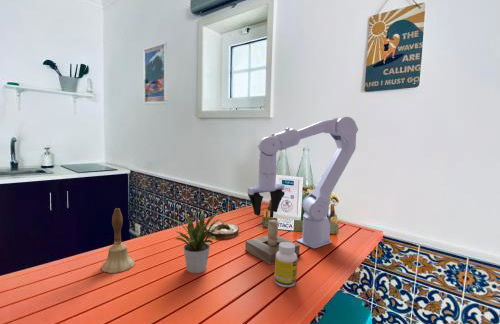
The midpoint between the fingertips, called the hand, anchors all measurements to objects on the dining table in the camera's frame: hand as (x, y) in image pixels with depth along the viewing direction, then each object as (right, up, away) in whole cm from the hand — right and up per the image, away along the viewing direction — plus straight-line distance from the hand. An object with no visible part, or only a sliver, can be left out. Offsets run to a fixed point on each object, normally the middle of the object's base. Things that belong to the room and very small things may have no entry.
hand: (265, 213), depth 94 cm
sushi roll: (-16, -10, +10) cm, 21 cm away
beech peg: (+2, -11, -6) cm, 13 cm away
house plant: (-19, -12, -18) cm, 28 cm away
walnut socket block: (+2, -11, -6) cm, 13 cm away
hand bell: (-41, -11, -18) cm, 46 cm away
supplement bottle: (+4, -13, -23) cm, 27 cm away
